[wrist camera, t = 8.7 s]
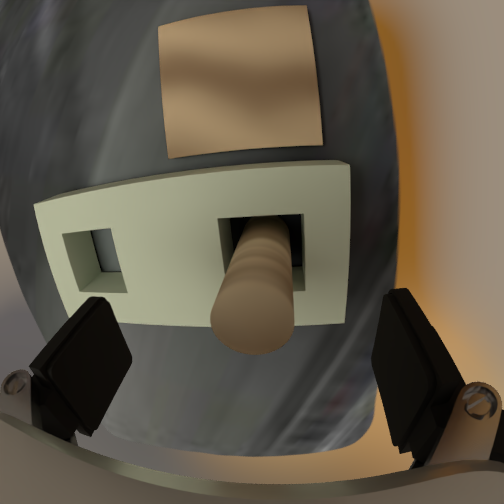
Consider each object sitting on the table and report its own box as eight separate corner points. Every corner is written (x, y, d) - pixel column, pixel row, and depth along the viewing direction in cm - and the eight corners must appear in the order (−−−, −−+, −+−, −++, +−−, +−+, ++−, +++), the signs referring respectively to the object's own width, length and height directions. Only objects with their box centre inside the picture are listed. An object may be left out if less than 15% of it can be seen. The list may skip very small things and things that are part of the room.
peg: (240, 214, 19) (203, 287, 10) (288, 211, 19) (293, 285, 10) (245, 258, 21) (216, 354, 11) (290, 256, 20) (294, 353, 11)
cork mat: (160, 28, 15) (158, 26, 14) (305, 8, 13) (306, 5, 13) (171, 158, 18) (168, 158, 18) (321, 144, 17) (322, 145, 17)
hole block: (60, 193, 20) (33, 204, 17) (337, 159, 17) (349, 164, 14) (88, 297, 24) (69, 317, 21) (336, 295, 21) (344, 323, 18)
